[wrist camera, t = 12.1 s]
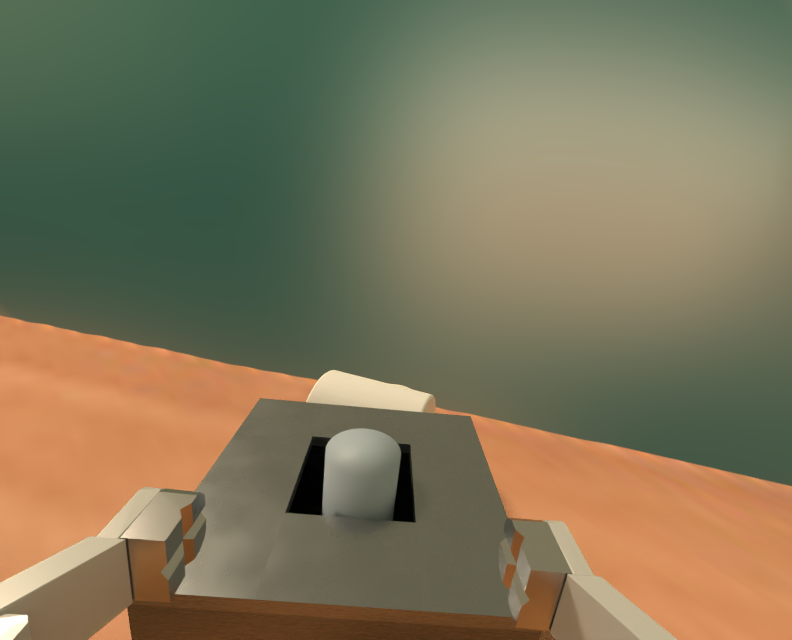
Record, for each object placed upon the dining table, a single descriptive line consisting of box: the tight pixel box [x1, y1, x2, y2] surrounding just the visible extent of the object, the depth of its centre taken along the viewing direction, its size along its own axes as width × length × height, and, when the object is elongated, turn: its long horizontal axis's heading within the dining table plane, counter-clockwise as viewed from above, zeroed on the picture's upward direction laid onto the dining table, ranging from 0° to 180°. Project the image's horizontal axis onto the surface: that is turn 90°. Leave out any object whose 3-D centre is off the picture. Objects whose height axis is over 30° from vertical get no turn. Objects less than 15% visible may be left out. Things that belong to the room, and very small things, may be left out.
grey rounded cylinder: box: [322, 428, 401, 521], centre depth 20 cm, size 4×4×11 cm
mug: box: [306, 370, 435, 413], centre depth 36 cm, size 12×10×8 cm
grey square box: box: [127, 398, 541, 640], centre depth 20 cm, size 14×13×10 cm
